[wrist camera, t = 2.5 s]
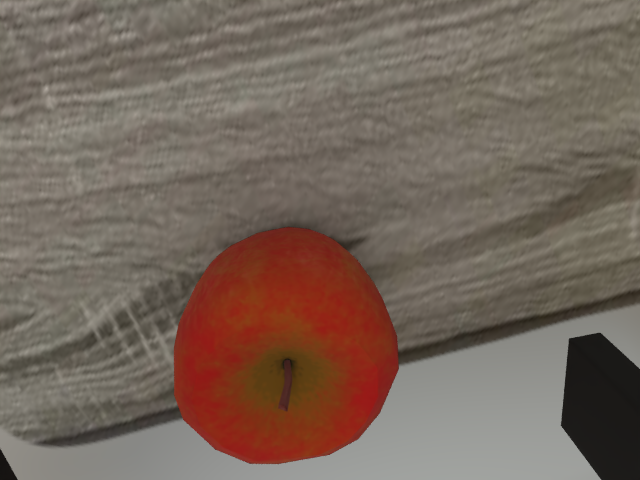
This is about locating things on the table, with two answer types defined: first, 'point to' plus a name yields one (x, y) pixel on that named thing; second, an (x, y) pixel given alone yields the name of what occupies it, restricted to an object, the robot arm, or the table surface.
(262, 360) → the apple
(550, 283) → the table surface
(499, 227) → the table surface
